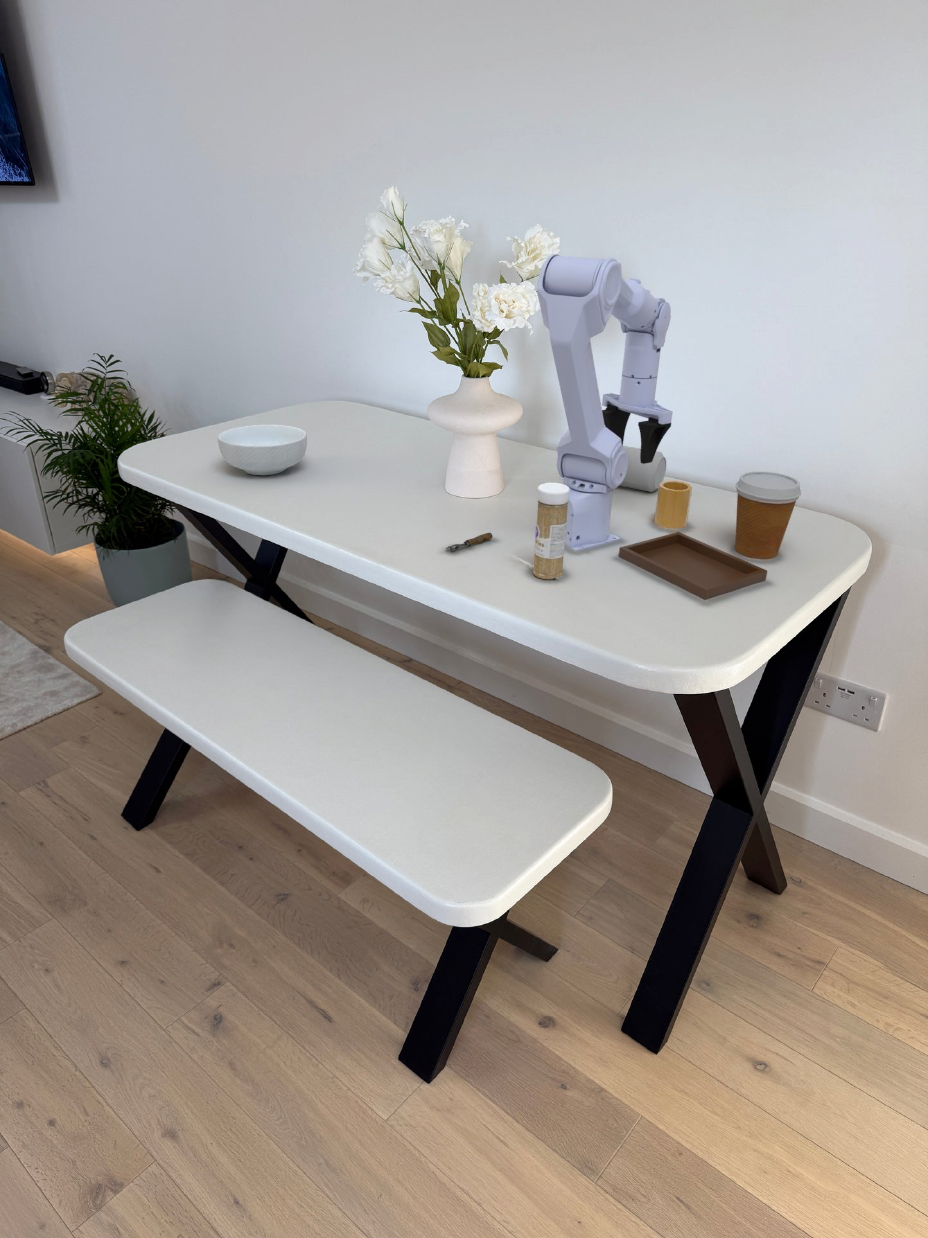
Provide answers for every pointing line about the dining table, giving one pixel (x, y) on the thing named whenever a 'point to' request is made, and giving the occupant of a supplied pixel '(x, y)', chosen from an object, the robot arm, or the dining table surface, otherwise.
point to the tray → (693, 565)
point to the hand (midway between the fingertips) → (630, 456)
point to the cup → (673, 504)
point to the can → (643, 471)
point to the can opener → (472, 541)
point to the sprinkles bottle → (550, 530)
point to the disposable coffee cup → (763, 512)
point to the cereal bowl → (263, 447)
